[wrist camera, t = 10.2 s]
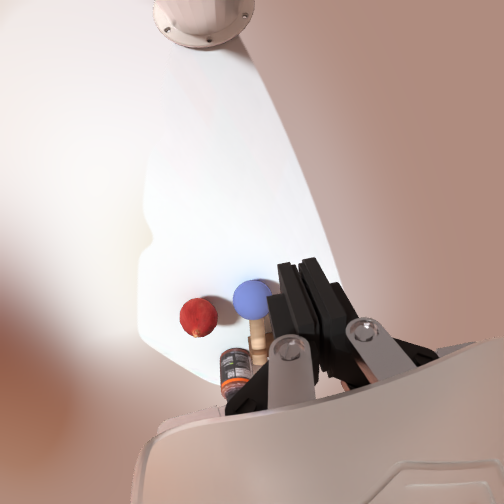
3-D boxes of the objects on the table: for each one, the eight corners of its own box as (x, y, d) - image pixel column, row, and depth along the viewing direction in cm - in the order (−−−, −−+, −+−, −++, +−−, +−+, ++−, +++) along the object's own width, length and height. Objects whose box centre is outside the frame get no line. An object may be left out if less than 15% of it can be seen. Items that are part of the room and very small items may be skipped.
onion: (224, 297, 46) (225, 331, 39) (207, 320, 48) (206, 355, 41) (191, 282, 44) (186, 316, 37) (176, 307, 46) (170, 341, 39)
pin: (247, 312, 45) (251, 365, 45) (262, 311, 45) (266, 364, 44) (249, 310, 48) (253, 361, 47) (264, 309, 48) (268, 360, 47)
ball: (237, 330, 42) (236, 301, 47) (276, 325, 42) (272, 296, 47) (229, 304, 39) (229, 274, 44) (273, 298, 39) (268, 269, 43)
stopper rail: (247, 336, 51) (249, 353, 47) (296, 327, 51) (301, 342, 47) (249, 344, 52) (251, 360, 48) (297, 334, 52) (302, 350, 48)
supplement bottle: (237, 370, 55) (241, 416, 45) (213, 359, 53) (213, 407, 43) (257, 354, 53) (264, 402, 43) (232, 342, 51) (235, 392, 41)
